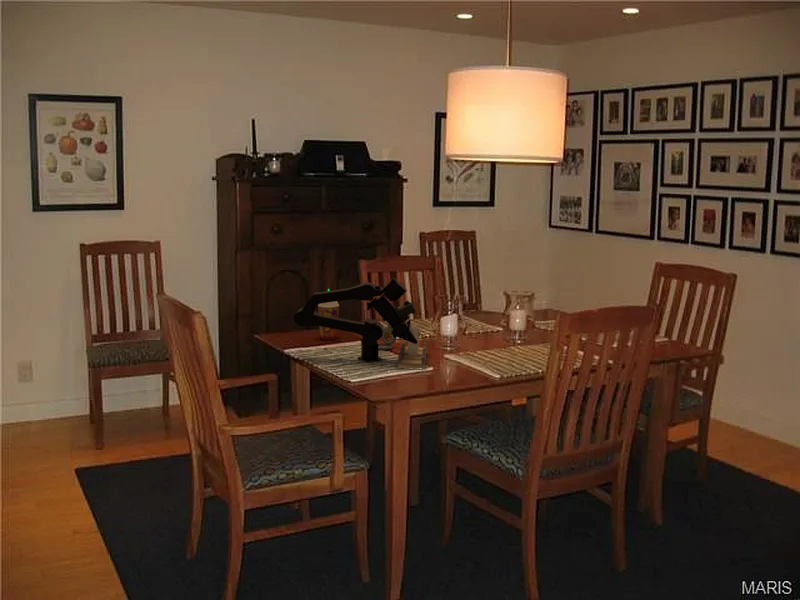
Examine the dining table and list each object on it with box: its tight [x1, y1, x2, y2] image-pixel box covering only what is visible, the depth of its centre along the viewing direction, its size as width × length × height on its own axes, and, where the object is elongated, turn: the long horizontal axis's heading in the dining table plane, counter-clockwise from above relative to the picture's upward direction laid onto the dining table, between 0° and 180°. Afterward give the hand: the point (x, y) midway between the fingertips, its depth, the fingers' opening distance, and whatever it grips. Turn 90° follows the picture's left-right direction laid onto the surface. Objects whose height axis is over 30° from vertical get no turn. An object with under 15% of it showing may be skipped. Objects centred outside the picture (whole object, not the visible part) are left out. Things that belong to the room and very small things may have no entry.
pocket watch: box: [378, 321, 398, 351], centre depth 326 cm, size 8×8×10 cm
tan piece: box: [397, 341, 428, 370], centre depth 309 cm, size 24×9×4 cm, turn 177°
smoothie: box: [317, 288, 340, 341], centre depth 339 cm, size 8×8×20 cm
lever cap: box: [407, 326, 422, 357], centre depth 308 cm, size 4×5×10 cm
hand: (417, 341), depth 308 cm, fingers closed on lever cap, 5 cm apart
